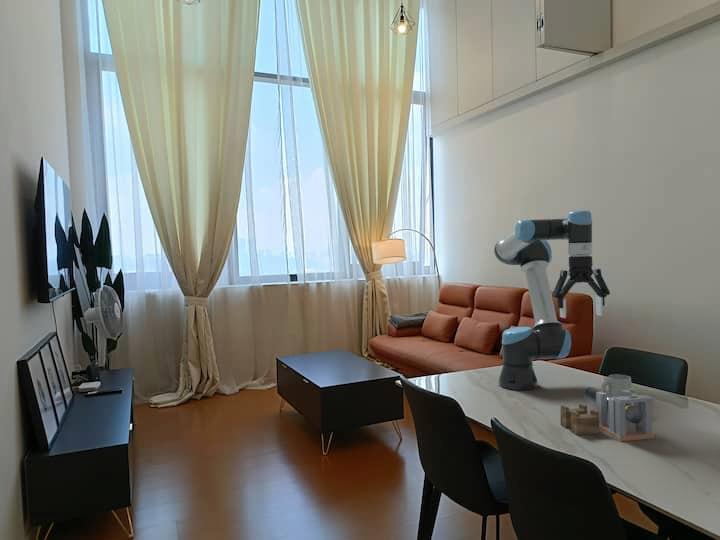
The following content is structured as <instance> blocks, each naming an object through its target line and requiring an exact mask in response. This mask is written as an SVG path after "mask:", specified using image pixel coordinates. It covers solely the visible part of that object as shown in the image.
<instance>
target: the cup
mask: <svg viewBox="0 0 720 540" xmlns="http://www.w3.org/2000/svg"><path fill="white" fill-rule="evenodd" d="M624 385H628V386H624ZM607 386H608V392H607ZM621 388H622V389H624V390H628V391H630V388H632V377H631V376H628V375H626V374H618V373H617V374H609V375H608V379H606V380H603V382H602V384H601V390H600V391H602V392H604V393H607V394H609V395H611V396H613V397H621V390H619V389H621Z"/></svg>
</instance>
